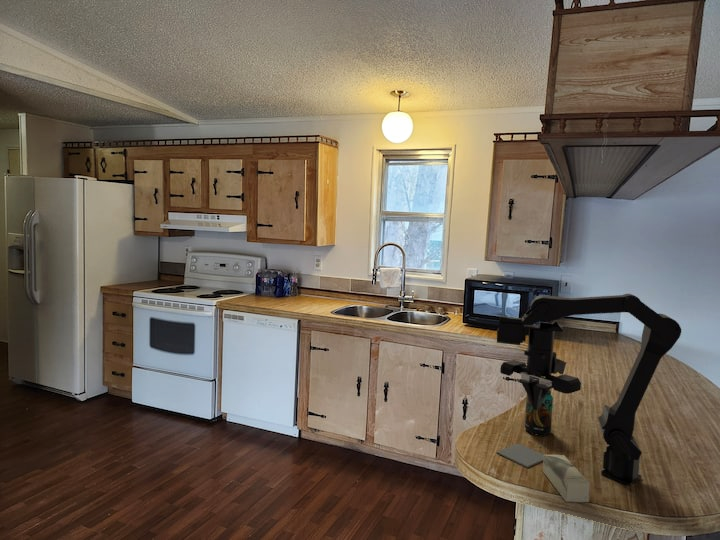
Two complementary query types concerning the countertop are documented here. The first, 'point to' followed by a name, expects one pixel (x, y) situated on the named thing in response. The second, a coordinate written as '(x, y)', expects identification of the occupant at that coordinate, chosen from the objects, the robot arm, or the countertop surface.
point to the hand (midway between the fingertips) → (536, 409)
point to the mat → (522, 455)
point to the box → (566, 478)
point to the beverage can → (539, 416)
